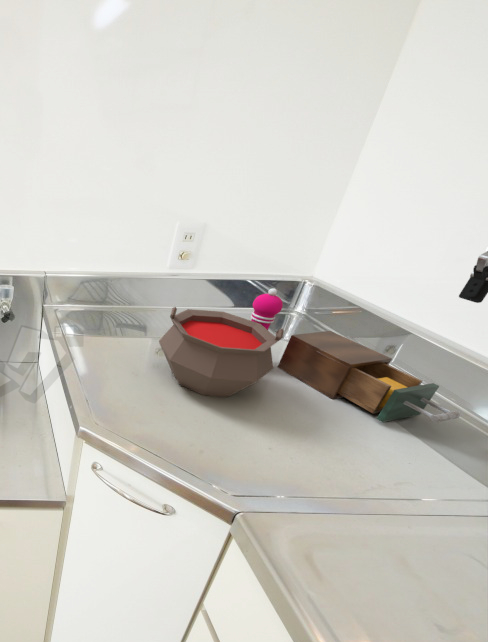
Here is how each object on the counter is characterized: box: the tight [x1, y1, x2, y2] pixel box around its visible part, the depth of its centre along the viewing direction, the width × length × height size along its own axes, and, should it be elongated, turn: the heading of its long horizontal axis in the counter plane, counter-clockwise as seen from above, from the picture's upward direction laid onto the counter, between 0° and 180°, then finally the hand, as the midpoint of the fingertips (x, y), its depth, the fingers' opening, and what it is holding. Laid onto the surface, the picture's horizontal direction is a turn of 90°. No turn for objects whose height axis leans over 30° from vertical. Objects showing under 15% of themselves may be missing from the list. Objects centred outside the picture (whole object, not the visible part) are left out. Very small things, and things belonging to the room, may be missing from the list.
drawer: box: [338, 363, 461, 423], centre depth 89 cm, size 20×11×7 cm, turn 16°
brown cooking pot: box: [158, 306, 285, 398], centre depth 96 cm, size 24×24×16 cm
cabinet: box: [277, 330, 393, 400], centre depth 101 cm, size 15×13×9 cm
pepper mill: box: [250, 287, 284, 331], centre depth 104 cm, size 7×7×20 cm
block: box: [378, 377, 407, 408], centre depth 90 cm, size 4×4×4 cm
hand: (486, 298), depth 79 cm, fingers open, 9 cm apart
